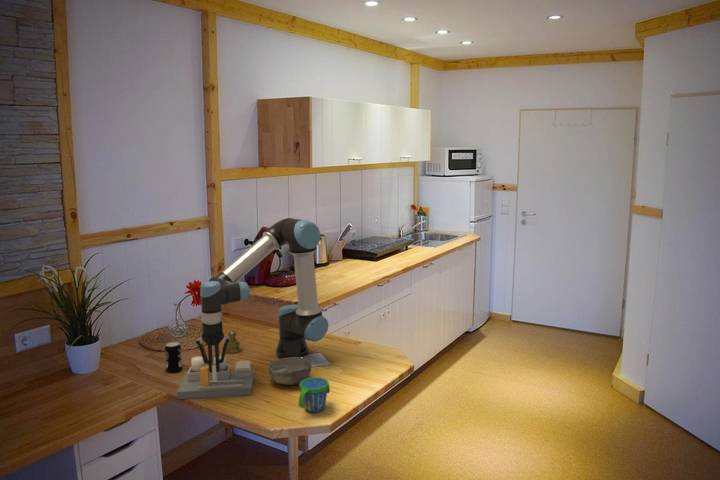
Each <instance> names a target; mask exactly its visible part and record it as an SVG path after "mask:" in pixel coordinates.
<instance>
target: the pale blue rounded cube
mask: <svg viewBox="0 0 720 480" xmlns="http://www.w3.org/2000/svg"><path fill="white" fill-rule="evenodd" d="M221 355H222V354H221ZM221 355H220V354H219V359H221ZM213 363H216V361H215V356H214V357H213ZM227 365H228V363H227V356H226V355H225V357H224V361H223V363H220V370H219V371H224V370H226V369H227Z"/></svg>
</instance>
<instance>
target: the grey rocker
mask: <svg viewBox="0 0 720 480" xmlns="http://www.w3.org/2000/svg"><path fill="white" fill-rule="evenodd" d="M250 368H251V360H237V361H236V362H235V371H236V372H239V371H250Z"/></svg>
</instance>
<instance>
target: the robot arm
mask: <svg viewBox="0 0 720 480" xmlns="http://www.w3.org/2000/svg"><path fill="white" fill-rule="evenodd" d="M320 240H321V231H320V228H319V227H318V225H317V224H316V223H314V222H313V221H310V220H309V219H308V220H307V219H301V218H300V219H299V218H294V217H293V218H292V217H288V218H283V219H279V220H278V221H277V222H276V223H274V224H272V225H271V226H269V227H268V228H267V229H266V230H265V231H264V232H263V233H262V236H261V237H260V238H259V239H258V240H257V241H256V242H255V243H253V244H252V245H251V246H250V247H249V248H248V249H246V250H245V251H244V252H243V253H241V255H239V256H238V257H237V258H236V259H235V260H234V261H232V262H231V263H230V264H228V266H227V267H225V268H224V269H223V270H222V271H221V272H219V273H218V274H217V275H216V276H215V275H214V276H212V275H211V276H209V277H207V278H206V279H205V281H204V282H202V283H201V285H200V293H199V294H200V307H201V322H202V324H201V328H202V335H201V337H199V338H197V339H196V341H195V344H196V345H197V346H198V348H199V351H200V354H201V357H202V358H203V361H204V365H205V364H206V365H208V367H209V372H210V373H211V372H212V378H213V381H217V372H219V370H220V363H223V361H224V357H225V356H226V348H227V344H228V343H229V341H230V338H229V336H228V337H227V336H225V333H224V331H223V321H222V320H223V311H222V310H223V309H222V305H228V304H233V303H238V302H243V301H246V300H247V299H249V297H250V287H249V285H248V283H247V282H245V281H240V280H241V279H242V278H243V277H245V276H246V274H248V273H249V272H250V271H251V270H253V269H254V268H255V267H256V266H257V265H258V264H259V263H260V262H262V261H263V260H264V259H265V258H267V256H268V255H270V254H271V252H273V251H274V250H279V249H280V248H281V247H283V246H285V245H288V250H289V251H288V252H289V254H290V255H292V256H293V262H294V263H293V264H294V274H295V285H296V295H297V304H287V305H284V306H281V307H280V308H279V309H278V316H277V317H278V335H279V336H278V337H279V338H278V341H277V345H276V349H275V355H276V357H277V358H279V359H282V358H289V357H303V358H305V357H307V356H309V354H310V350H309V349H310V348H309V346H308V343H307V341H310V342H318V341H320V340H322V339H324V337H325V335H326V334H327V332H328V329H329V321H328V319H327V318H326V317H324V316H323V309H322V307H321V306H319V304H318V303H319V301H318V293H317V291H318V290H317V280H316V269H315V259H314V253H316V251H317V247H318V245H319V242H320ZM222 341H223V347H222V351H221V359H219V355H220V344H221V342H222ZM203 342H204V343H205V344H206V345H207V351H208V353H207V352H206V349H205V346H204V343H203ZM213 346H214V357H215V361H216V363H214V357H213ZM207 355H208V356H207ZM306 355H307V356H306ZM304 356H305V357H304Z"/></svg>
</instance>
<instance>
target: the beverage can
mask: <svg viewBox="0 0 720 480" xmlns="http://www.w3.org/2000/svg"><path fill="white" fill-rule="evenodd" d="M164 354H165V355H164V356H165V370H166V372H168V373H171V374H175V373H178V372H180V371H182V369H183V361H182V347H181V344H180V342H179V341H170V342H168V343H165V347H164Z"/></svg>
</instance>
